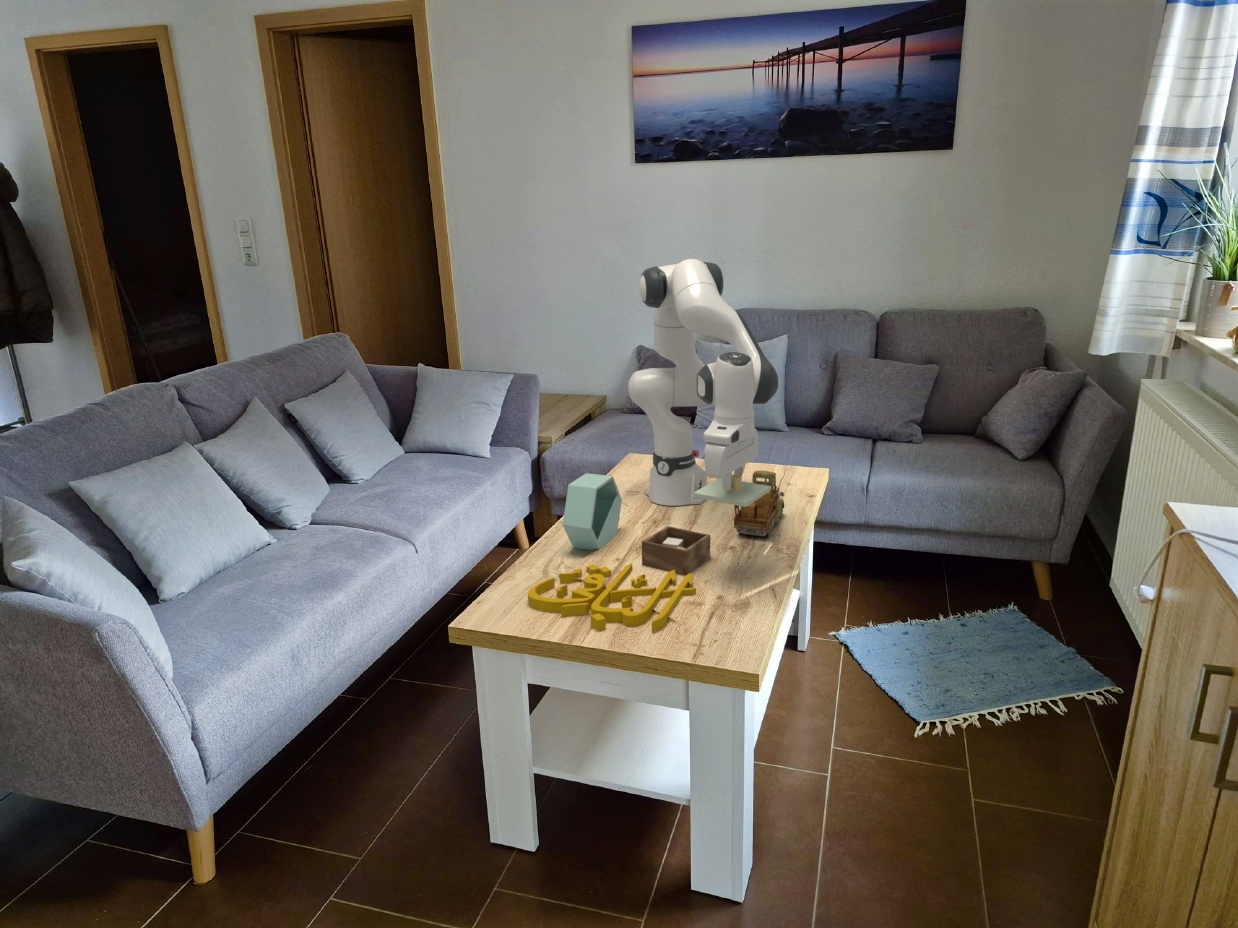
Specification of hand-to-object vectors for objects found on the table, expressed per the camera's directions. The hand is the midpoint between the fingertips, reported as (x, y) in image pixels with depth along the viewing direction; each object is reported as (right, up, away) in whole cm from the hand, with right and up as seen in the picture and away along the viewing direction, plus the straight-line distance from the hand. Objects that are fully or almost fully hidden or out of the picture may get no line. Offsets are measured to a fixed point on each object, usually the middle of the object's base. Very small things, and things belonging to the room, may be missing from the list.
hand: (732, 486), depth 192 cm
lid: (0, -2, 0) cm, 2 cm away
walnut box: (-12, -19, +13) cm, 26 cm away
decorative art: (-27, -25, -3) cm, 37 cm away
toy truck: (+12, -12, +36) cm, 40 cm away
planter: (-32, -16, +27) cm, 45 cm away
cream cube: (-12, -18, +16) cm, 27 cm away
